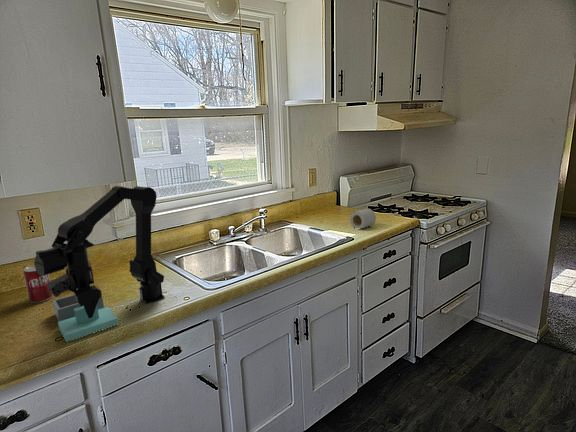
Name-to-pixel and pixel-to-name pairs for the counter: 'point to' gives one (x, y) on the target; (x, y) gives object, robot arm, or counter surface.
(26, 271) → the soda can
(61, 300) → the tub
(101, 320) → the lid
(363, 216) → the toilet paper
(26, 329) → the counter surface
